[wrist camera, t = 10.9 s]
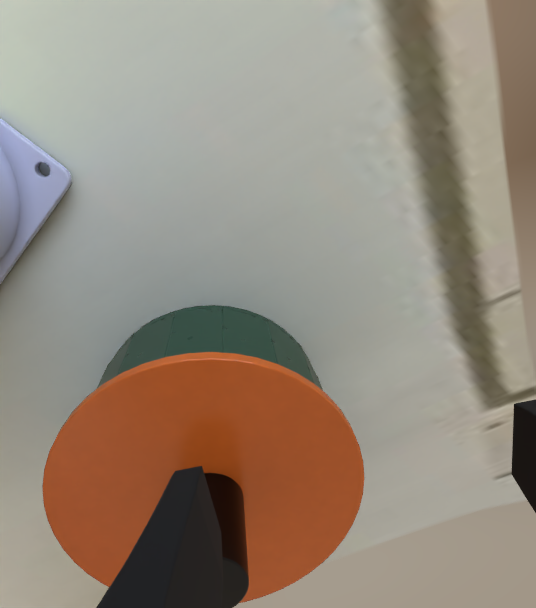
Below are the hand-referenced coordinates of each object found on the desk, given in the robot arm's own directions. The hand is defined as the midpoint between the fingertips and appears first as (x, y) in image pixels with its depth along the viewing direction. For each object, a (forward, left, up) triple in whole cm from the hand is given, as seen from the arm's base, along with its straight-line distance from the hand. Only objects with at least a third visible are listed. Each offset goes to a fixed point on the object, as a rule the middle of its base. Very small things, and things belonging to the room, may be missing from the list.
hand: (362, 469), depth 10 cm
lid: (0, -6, -5) cm, 8 cm away
